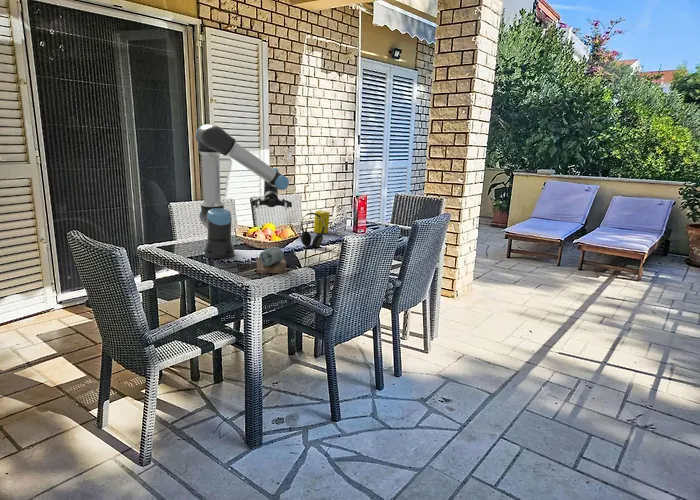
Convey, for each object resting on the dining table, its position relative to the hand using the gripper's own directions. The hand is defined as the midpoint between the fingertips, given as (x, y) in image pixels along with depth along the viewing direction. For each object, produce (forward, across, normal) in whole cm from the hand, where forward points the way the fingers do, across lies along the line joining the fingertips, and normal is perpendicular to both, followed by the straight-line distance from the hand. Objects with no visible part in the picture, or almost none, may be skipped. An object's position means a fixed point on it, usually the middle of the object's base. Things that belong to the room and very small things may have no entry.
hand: (272, 206), depth 230 cm
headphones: (-28, -24, -28) cm, 47 cm away
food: (-63, -34, -28) cm, 77 cm away
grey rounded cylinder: (+12, 0, -26) cm, 29 cm away
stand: (+12, 0, -28) cm, 30 cm away
